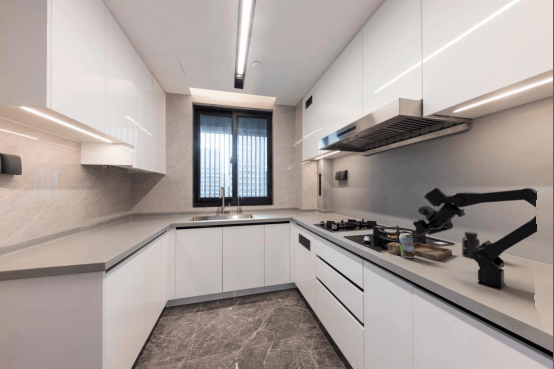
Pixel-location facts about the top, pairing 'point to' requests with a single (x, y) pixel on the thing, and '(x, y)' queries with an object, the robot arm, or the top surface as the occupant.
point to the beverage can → (407, 245)
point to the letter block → (394, 248)
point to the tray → (431, 251)
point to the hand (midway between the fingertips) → (421, 235)
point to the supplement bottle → (469, 244)
